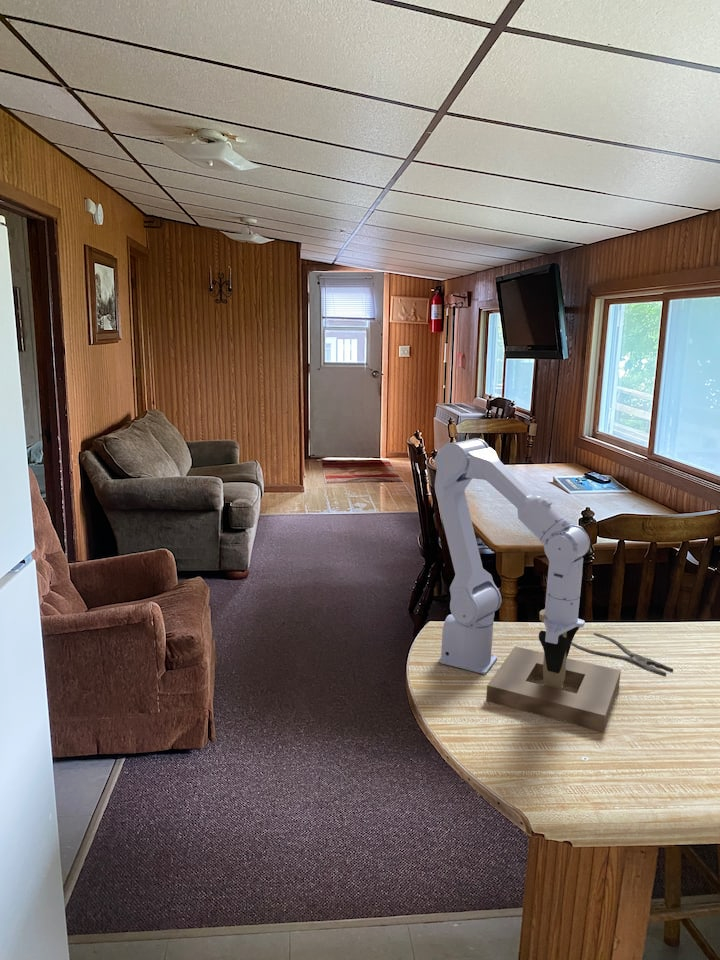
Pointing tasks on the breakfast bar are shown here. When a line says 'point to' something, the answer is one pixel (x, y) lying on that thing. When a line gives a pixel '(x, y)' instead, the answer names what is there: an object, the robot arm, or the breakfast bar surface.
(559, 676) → the handle
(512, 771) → the breakfast bar surface
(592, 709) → the socket plate
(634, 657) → the pliers
